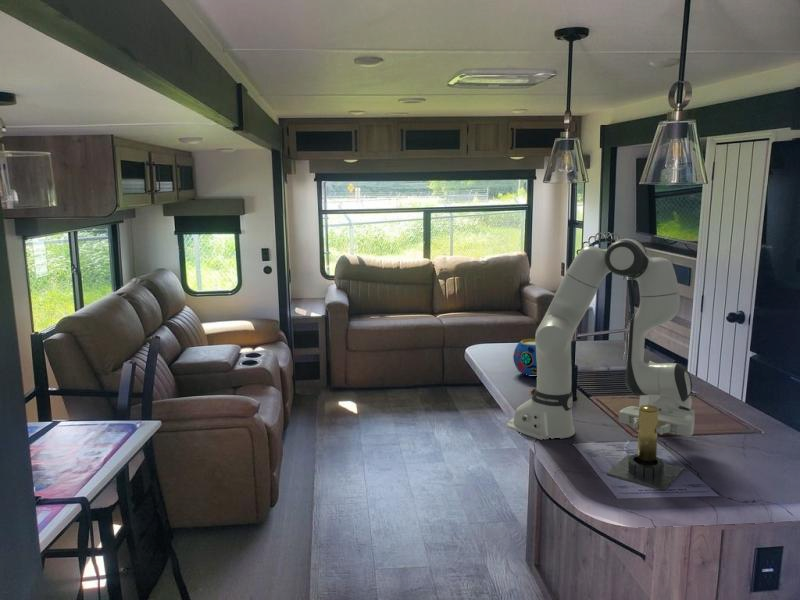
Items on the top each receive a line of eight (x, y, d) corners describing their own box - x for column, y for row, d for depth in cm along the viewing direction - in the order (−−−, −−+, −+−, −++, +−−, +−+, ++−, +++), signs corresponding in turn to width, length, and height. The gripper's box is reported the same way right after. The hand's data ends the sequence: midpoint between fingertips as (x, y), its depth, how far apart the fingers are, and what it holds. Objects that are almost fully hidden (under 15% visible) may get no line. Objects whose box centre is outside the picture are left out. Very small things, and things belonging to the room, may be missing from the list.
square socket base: (606, 474, 180) (606, 462, 180) (627, 456, 192) (628, 445, 192) (664, 490, 170) (665, 478, 169) (683, 470, 182) (684, 458, 182)
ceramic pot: (517, 382, 268) (517, 347, 266) (509, 370, 286) (510, 337, 283) (559, 381, 268) (559, 346, 266) (549, 369, 286) (549, 336, 283)
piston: (634, 458, 180) (636, 408, 178) (641, 452, 184) (642, 403, 181) (652, 462, 177) (654, 411, 174) (659, 456, 181) (660, 406, 178)
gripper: (628, 398, 195) (610, 410, 184) (700, 411, 182) (685, 425, 171) (628, 418, 196) (610, 431, 185) (699, 432, 183) (684, 448, 172)
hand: (646, 428), depth 178 cm, fingers closed on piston, 5 cm apart
